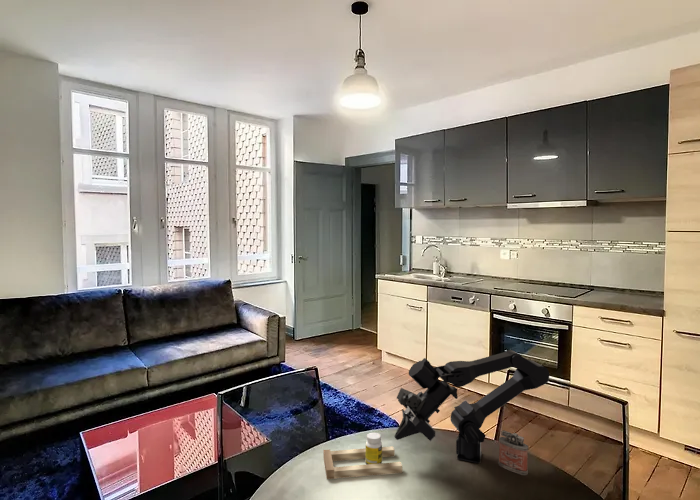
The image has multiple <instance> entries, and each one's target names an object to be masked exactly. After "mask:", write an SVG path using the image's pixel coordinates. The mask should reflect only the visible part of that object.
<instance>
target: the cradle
mask: <svg viewBox="0 0 700 500" xmlns="http://www.w3.org/2000/svg"><path fill="white" fill-rule="evenodd" d="M395 451H396V450H395V447H394V446H391V445H390V446H382V458H390V457H395V456H396V455H395V454H396V452H395ZM354 460H366V447H365V448H355V449H353V448H352V449H342V450H339V449H338V450H331V449H323V462H324V463H323V464H324V470H325V476H326V480H333V479H334V480H335V479H336V480H337V479H344V478H346V479H347V478H358V477H369V476H382V475H391V474H393V475H394V474H402V473H403V464H402V462H401V461H395V462H385V463H384V462H382V463H379V464H367V465H366V464H357V465H346V466H345V465H344V466H334V462H340V461H354Z"/></svg>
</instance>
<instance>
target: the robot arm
mask: <svg viewBox="0 0 700 500" xmlns="http://www.w3.org/2000/svg"><path fill="white" fill-rule="evenodd" d="M514 367H515V368H516V369H515V371H514V374H513V375H512V377H510V378H509V379H507V380H506V381H504V382H503V383H502V384H500V385H499V386H498V387H496V388H494V389H493V390H492V391H490V392H489V393H487V394H486V395H484V396H483V397H481V398H480V399H479V400H477V401H476V402H473V403H470V402H468V401H467V400H463V401H462V402H461V403H459V404H458V405H457V406H454V409H453V410H452V411H451V413H450V422H451V424H452V425H453V426H454V428H456V431H458V436H457V438H456V442H455V443H456V444H455V445H456V446H455V447H456V448H455V450H456V451H455V454H456V455H457V457H456V459H457V460H460V461H465V462H469V463H475V464H481V461H482V460H481V459H482V453H483V452H482V443H484V441H485V439H486V434H485V433H484V432H483V431H482V430H481V427H482V426H483V424H484V423H485V420H486V418H487V417H489V416H490V415H492V414H493V413H495V412H496V411H497V410H499V409H500V408H502V407H503V406H504V405H506V404H507V403H509V402H510V401H512V400H513V399H515V398H516V397H517V396H519V395H520V394H522V393H523V392H525V391H529V390H534V389H535V390H536V389H539V388H540V387H542V386H544V385H546V384H547V383H548V382H549V381H550V371H549V369H548V368H547V367H545V366H544V365H542V364H540V363H538V362H536V361H534V360H531V359H526V358H525V357H523V356H522V354H520V353H519V352H516V351H514V350H512V349H509V350H508V349H507V350H505V351H504V352H500V353H497V354H493V355H490V356H486V357H485V356H484V357H482V358H478V359H474V360H454V361H449V362H447V363H445V364H444V365H439V366H438V365H437V366H433V365H432V363H430V361H429V360H428V359H427V358H425V357H424V358H422V360H418V361H416V363H413V364H412V365H411V367H410V368H409V370H408V376H409V377H410V378H411V379H412V380H413V381H414V382H416V383H417V384H418V386H420V388H422V389H424V390H425V389H426V390H425V391H424V392H422V391H418V392H417V394H416V393H414V392H412V391H410V390H407V389H405V388H402V387H400V390H399V392H398V393H397V396H396V399H397V400H398V402H399V404H400V405H401V406H403V407H404V408H405V409H401V413H402V418H401V419H402V420H400V421H401V422H400V424H399V426H398V427H397V428H398V429H397V430H396V432H395V434H394V435H393V436H394V438H395V440H397V441H399V440H402V439H405V438H407V437H410V436H413V435H417V434H422V436H423V435H424V437H425V438H426V439H427V440H428V441H430V442H431V441H432V440H433V439H434V438H435V437H436V431H435V429H434V427H433V426H432V425H431V424H430V422H431V421H430V417H432V416H433V415H434V413H437V414H438V413H439V412H440V409H439V408H440V407H441V406H442V405H443V403H445V402H446V400H447V399H448V398H449V397H450V396H452V397H453V398H455V399H456V400H457V399H458V388H462V387H464V386H466V385H468V384H470V383H472V382H473V381H475V379H476V378H479V377H481V376H485V375H488V374H489V375H490V374H492V373H495V372H499V371H503V370H507V369H510V368H514ZM439 378H440V379H441V380H440V379H439ZM450 384H451V385H452V386H451V385H450Z"/></svg>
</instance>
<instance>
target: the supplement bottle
mask: <svg viewBox="0 0 700 500" xmlns="http://www.w3.org/2000/svg"><path fill="white" fill-rule="evenodd" d="M382 447H383V443H382V436H381V433H378V432H369V433H367V434H366V442H365V448H366V459H365V465H367V464H379V463H383V457H382Z"/></svg>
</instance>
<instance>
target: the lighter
mask: <svg viewBox="0 0 700 500" xmlns="http://www.w3.org/2000/svg"><path fill="white" fill-rule="evenodd" d="M500 434H501V436H500V437H498V442H499V446H498V447H499V452H498V454H499V456H498V457H499V458H498V466H499V467H500V468H503V469H505V470H508V471H510V472H513V473H515V474H518V475H521V476H527V475H528V473H529V469H528V450H529V445H528V444H526V443H524V442H525V437H524V436H520V435H518V433H516V432H513V433H511V431H510V432H509V431H507V430H502V431H501V433H500Z"/></svg>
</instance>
